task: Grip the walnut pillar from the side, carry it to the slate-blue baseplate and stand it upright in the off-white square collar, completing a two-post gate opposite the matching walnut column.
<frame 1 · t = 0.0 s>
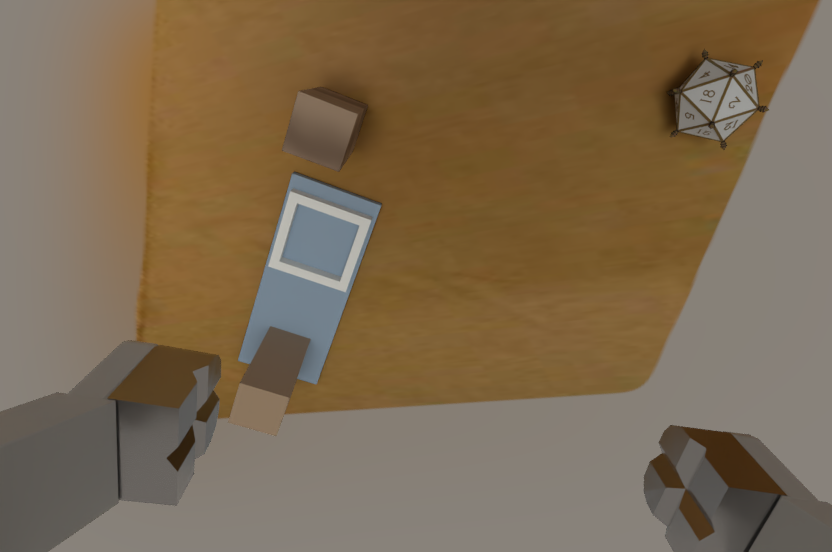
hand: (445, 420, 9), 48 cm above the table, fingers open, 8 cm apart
baseplate: (322, 236, 58), on the table
pillar: (337, 119, 53), on the table
game die: (692, 98, 53), on the table
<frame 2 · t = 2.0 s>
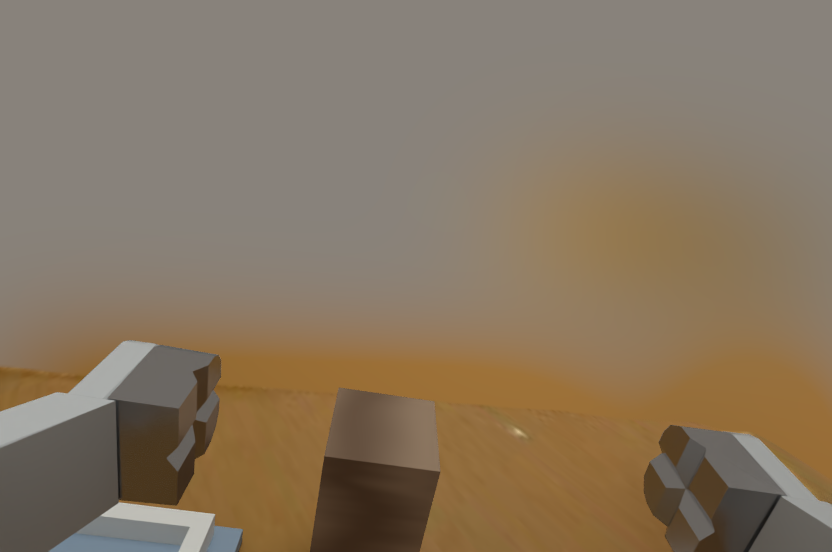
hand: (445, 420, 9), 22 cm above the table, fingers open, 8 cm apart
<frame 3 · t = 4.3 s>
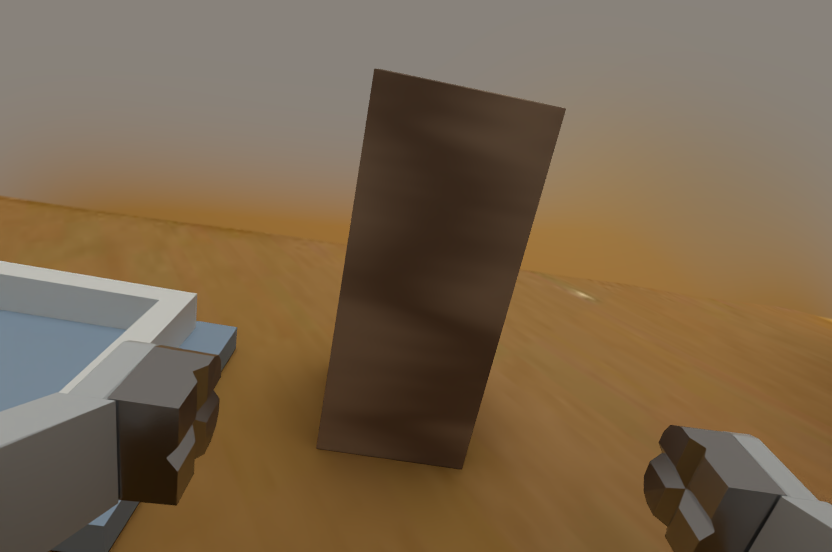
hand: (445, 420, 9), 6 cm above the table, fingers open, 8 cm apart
pillar: (392, 413, 20), on the table
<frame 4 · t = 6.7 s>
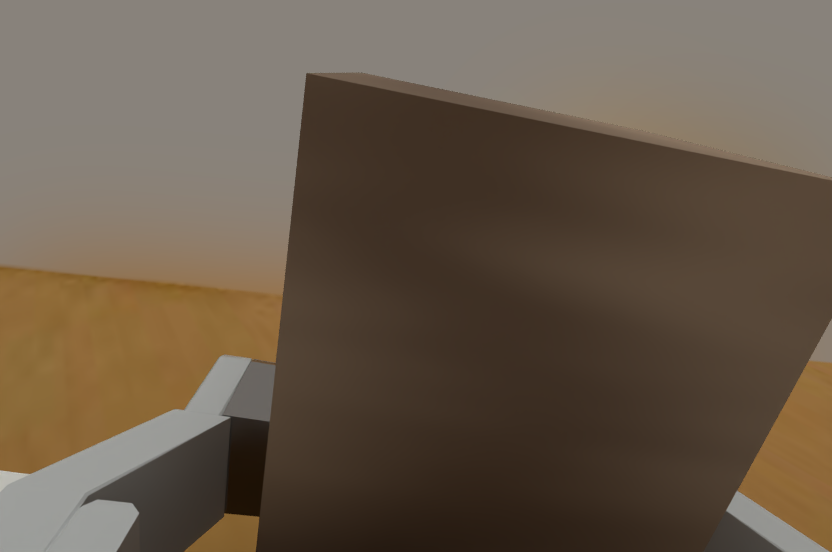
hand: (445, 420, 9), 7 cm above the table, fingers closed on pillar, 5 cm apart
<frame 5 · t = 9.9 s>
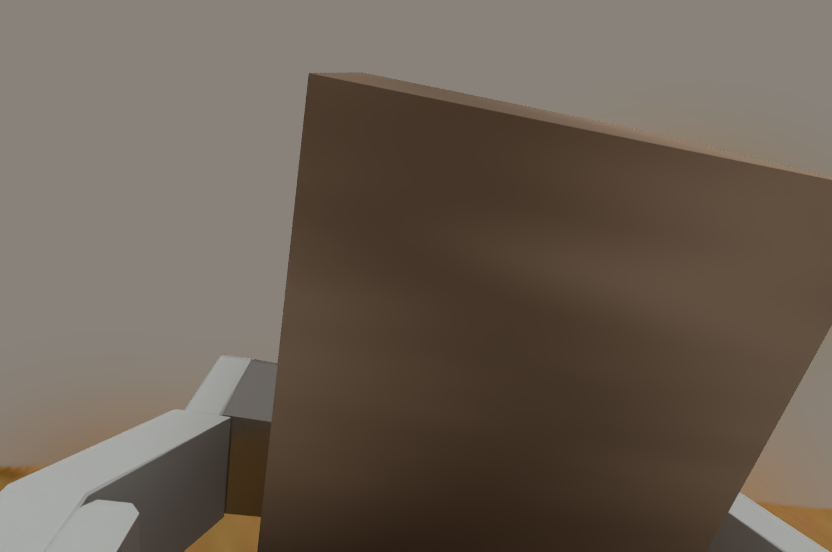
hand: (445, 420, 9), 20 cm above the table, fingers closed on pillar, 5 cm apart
when the fingers open (9 cm above the table, at t = 13.4 s): pillar drops 1 cm, resting on baseplate.
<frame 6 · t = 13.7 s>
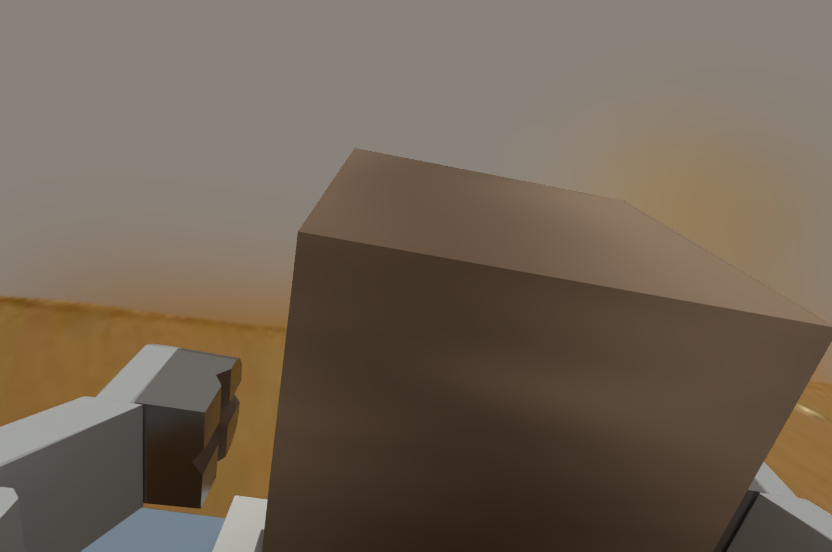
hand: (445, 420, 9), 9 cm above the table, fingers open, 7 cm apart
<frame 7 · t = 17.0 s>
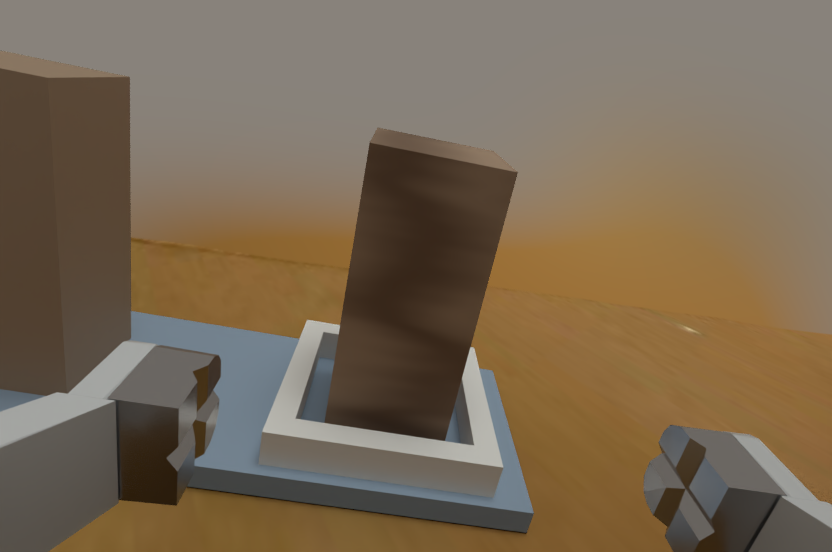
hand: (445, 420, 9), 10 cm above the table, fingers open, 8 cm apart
baseplate: (379, 426, 24), on the table
pillar: (384, 409, 23), point 1 cm above the table, touching baseplate
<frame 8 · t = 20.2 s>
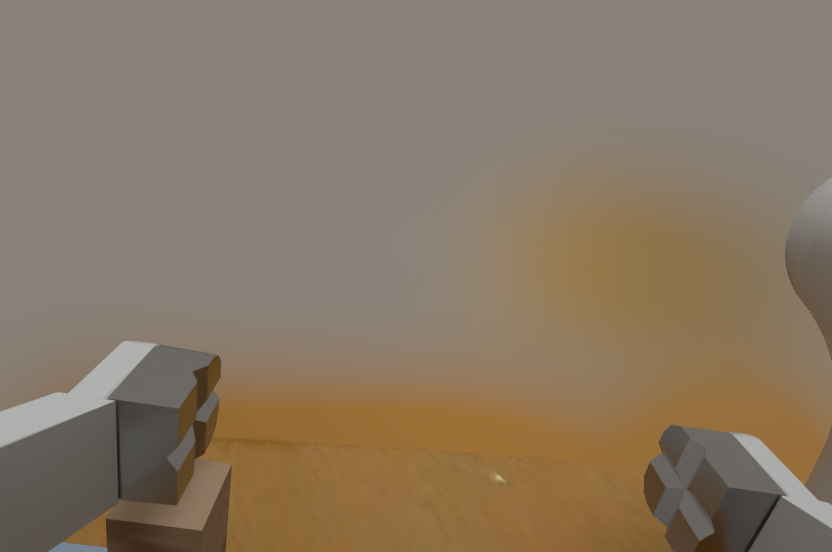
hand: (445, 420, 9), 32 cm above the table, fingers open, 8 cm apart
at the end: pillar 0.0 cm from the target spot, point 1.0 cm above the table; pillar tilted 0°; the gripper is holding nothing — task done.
